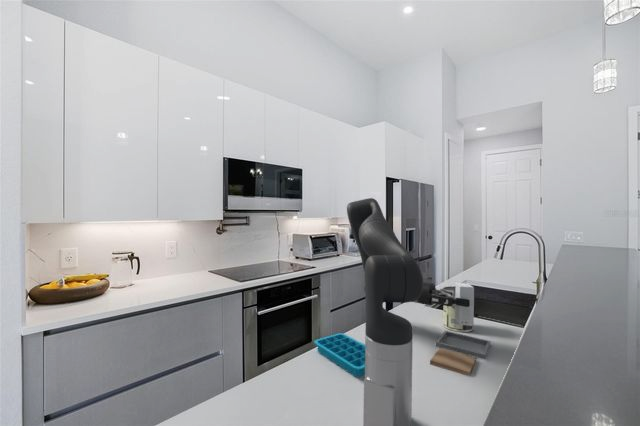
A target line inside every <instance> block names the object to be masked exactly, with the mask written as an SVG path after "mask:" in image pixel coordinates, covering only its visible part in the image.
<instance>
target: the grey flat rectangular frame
mask: <svg viewBox="0 0 640 426" xmlns="http://www.w3.org/2000/svg"><path fill="white" fill-rule="evenodd" d="M447 336H448V337H453V338H456V339H460V340H465V341H469V342H472V343H478V344H481V345H485V347H484V349H483V352H479V351H476V350H471V349H468V348H463V347H459V346H456V345H452V344H448V343H444V340H445V339H446V337H447ZM491 345H492V341H491V340H487V339H483V338H479V337H474V336H470V335H466V334H461V333H458V332H454V331H450V330H449V331H448V330H444V331H443V332H442V334H441V335H440V337H438V339H437V340H436V341H435V347H438V348H442V349H446V350H449V351H453V352H457V353H461V354H464V355H468V356H472V357H476V358H480V359H483V360H486V359H487V356H488V353H489V350H490V348H491Z"/></svg>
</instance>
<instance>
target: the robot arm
mask: <svg viewBox="0 0 640 426" xmlns="http://www.w3.org/2000/svg"><path fill="white" fill-rule="evenodd" d="M346 214H347V218H348V223H349V226H350V228H351V232H352V234H353V238H354V241H355V244H356V246H357V248H358V251H359V255H360V258H361V264H362V268H363V271H364V287H363V289H364V292H365V330H364V331H365V337H364V338H365V340H364V342H365V344H364V345H365V375H364V379H363V421H362V422H363V426H412V422H413V421H412V418H413V417H412V416H413V415H412V413H413V412H412V407H413V406H412V403H413V401H412V400H413V397H412V396H413V392H412V391H413V339H414V338H413V334H414V332H413V331H414V330H413V325H412V323H411V322H410V321H409V320H407V318H404V317H403V316H400V315H397V314H395V313H392V312H390V311H388V310H387V309H386V308H384V306H383V304H384V303H416V304H421V305H426V306H433V305H440V306H443V305H445V306H450V307H451V306H452V305H453V306H456V305H459V306H464V307H469V306H470V300H468V299H462V298H456V297H455V290H452V289H446V288H444V287H442V288H440V289H437V288H436V285H435V283H434V282H429V281H428V282H427V281H424V278H423V277H424V276H423V274H422V271H421V267H420V265H419V263H418V261H416V259H415V257H413V255H412V254H411V253H410V252H409V251H408V250H407V249H406V247H404V246H403V244H402V243H401V242H400V240H399V239H398V237H397V235H396V233H395V232H394V230H393V229H392V227H391V225H390V224H389V222H388V221H387V219H386V218H385V216H384V213H383V211H382V208H381V206H380V204H379V202H378V201H377V200H376V199H375V198H373V197H371V198H364V199H358V200H354V201H352V202H351V201H350V202H349V203H348V204H347V205H346Z"/></svg>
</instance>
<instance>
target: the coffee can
mask: <svg viewBox="0 0 640 426" xmlns="http://www.w3.org/2000/svg"><path fill="white" fill-rule="evenodd" d="M443 288H446V289H452V290H456V286H444V287H443ZM442 307H443V311H442V312H443V315H442V319H443V321H442V326H443V327H444V328H445V329H448V330H449V331H451V332H456V333H458V332H459V333H471V332H472V331H473V330H474V328H473V327H474V325H473V326H469V325H460V324H459V323H458V322H457V321H456V319H455V306H453V305H452V306H451V307H450V306H445V305H442ZM470 331H471V332H470Z"/></svg>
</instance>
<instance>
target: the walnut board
mask: <svg viewBox="0 0 640 426" xmlns="http://www.w3.org/2000/svg"><path fill="white" fill-rule="evenodd" d="M476 362H477V357H475V356H471V355H468V354H464V353H460V352H456V351H453V350H449V349H445V348H441V347H438V349H437V351H436V352H435V353H434V355H433V356H432V358H431V359H430V360H429V365H430V366H431V365H433V366H435V367H438V368H441V369H445V370H449V371H451V372H455V373H458V374H461V375H464V376H468V377H470V376H471V373H473V370H474V367H475V364H476Z"/></svg>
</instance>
